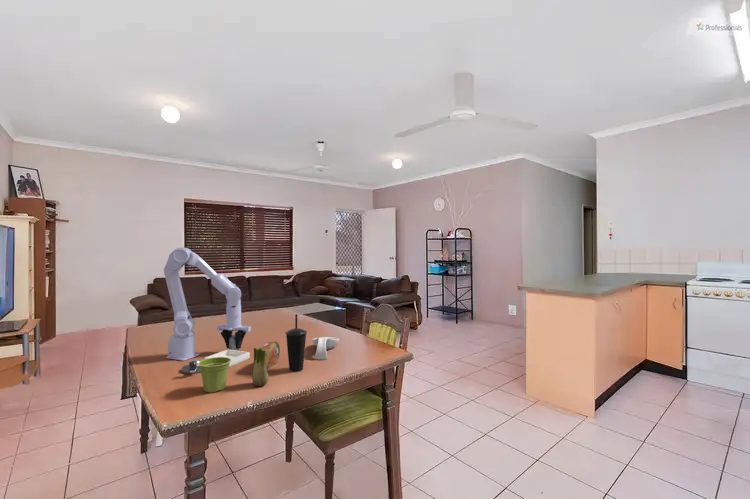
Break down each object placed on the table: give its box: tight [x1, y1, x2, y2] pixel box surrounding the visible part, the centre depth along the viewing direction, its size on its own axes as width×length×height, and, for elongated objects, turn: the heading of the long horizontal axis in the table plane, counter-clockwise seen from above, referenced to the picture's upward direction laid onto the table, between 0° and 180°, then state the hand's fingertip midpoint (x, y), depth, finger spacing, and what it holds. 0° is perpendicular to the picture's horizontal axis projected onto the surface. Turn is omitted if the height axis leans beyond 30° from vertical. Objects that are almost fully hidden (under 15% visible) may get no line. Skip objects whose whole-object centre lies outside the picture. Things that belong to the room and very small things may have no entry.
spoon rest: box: [311, 336, 340, 361], centre depth 150 cm, size 24×12×7 cm, turn 3°
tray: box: [202, 348, 251, 369], centre depth 136 cm, size 11×12×2 cm
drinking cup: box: [284, 314, 308, 373], centre depth 127 cm, size 8×8×20 cm
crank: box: [188, 359, 201, 373], centre depth 124 cm, size 10×3×4 cm, turn 19°
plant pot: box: [198, 357, 231, 393], centre depth 110 cm, size 9×9×9 cm
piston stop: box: [228, 334, 240, 351], centre depth 147 cm, size 4×4×7 cm
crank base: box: [181, 364, 201, 375], centre depth 127 cm, size 9×9×1 cm
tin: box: [258, 341, 281, 370], centre depth 131 cm, size 15×3×8 cm, turn 168°
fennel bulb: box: [251, 346, 269, 387], centre depth 113 cm, size 6×5×12 cm
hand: (233, 348), depth 147 cm, fingers closed on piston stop, 4 cm apart
